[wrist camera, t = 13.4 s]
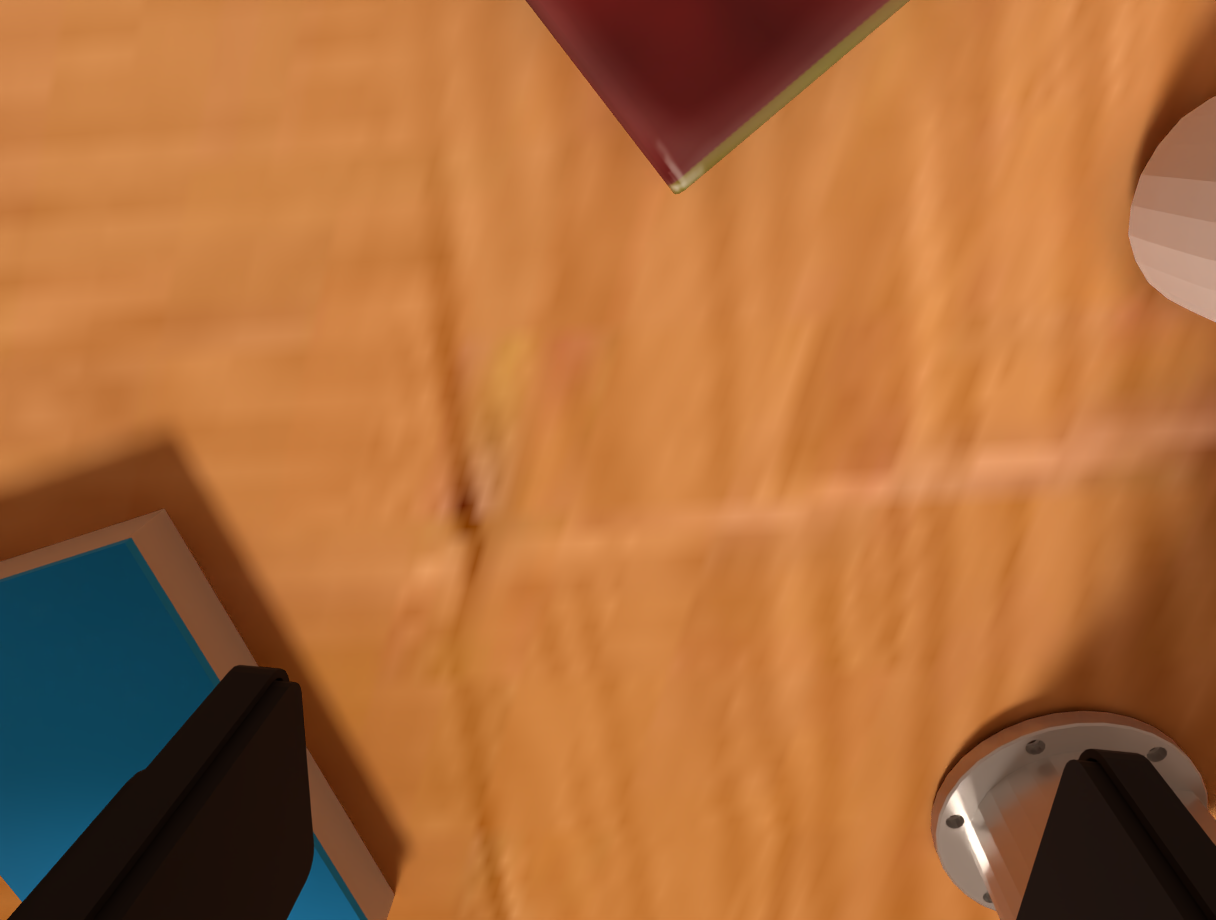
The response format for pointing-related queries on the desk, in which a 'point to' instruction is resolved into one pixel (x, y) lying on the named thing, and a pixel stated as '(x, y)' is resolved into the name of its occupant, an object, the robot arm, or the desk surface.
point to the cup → (1180, 214)
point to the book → (127, 701)
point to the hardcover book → (704, 65)
